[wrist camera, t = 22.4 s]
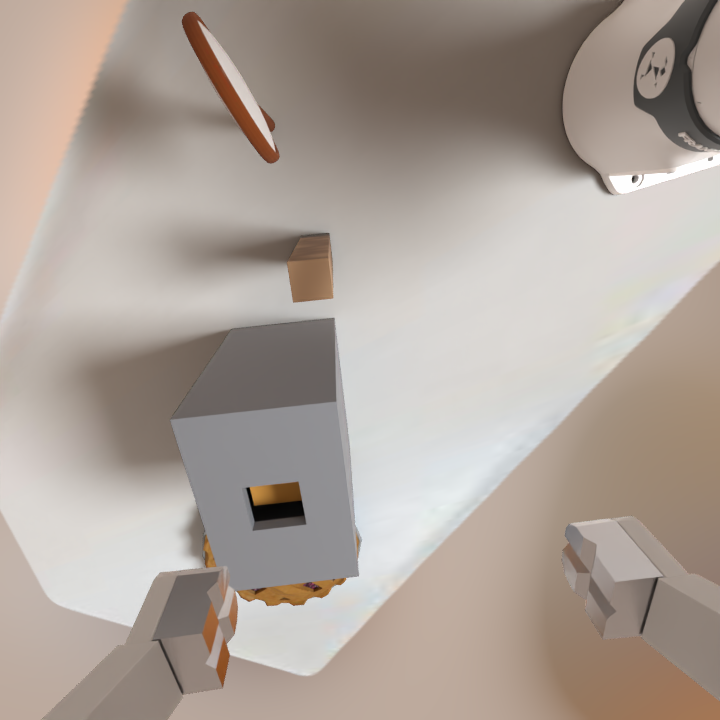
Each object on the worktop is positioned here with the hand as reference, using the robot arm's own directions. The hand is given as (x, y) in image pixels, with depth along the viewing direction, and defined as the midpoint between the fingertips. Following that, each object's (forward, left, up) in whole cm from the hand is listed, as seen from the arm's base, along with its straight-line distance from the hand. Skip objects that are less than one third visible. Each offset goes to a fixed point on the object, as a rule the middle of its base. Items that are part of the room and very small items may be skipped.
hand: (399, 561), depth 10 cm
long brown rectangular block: (+3, -2, -39) cm, 39 cm away
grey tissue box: (+8, +15, -39) cm, 43 cm away
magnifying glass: (+6, -14, -39) cm, 42 cm away
